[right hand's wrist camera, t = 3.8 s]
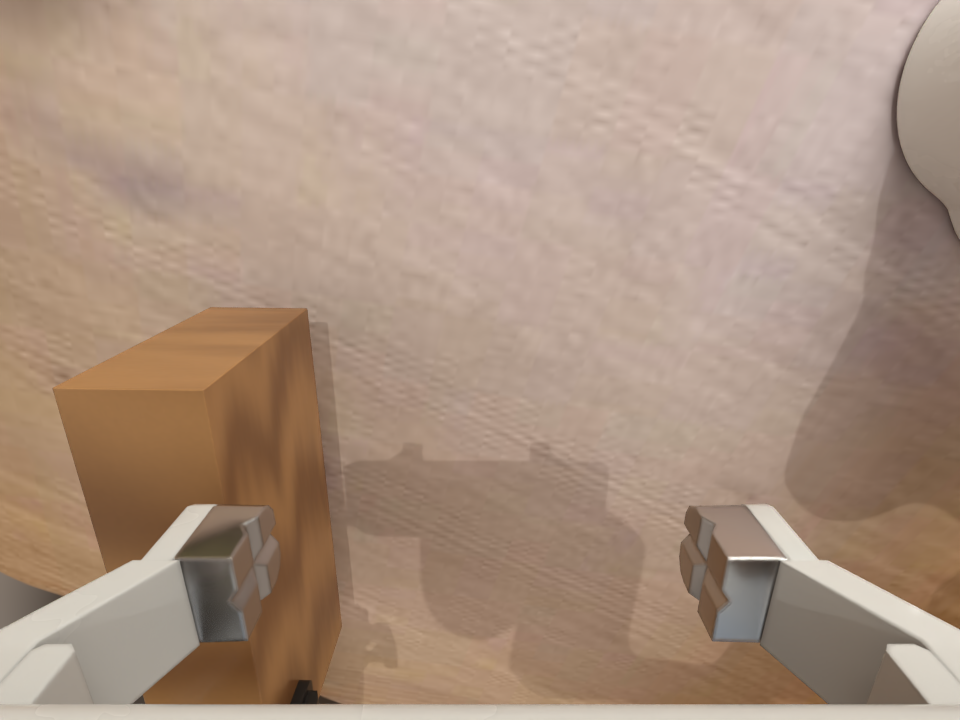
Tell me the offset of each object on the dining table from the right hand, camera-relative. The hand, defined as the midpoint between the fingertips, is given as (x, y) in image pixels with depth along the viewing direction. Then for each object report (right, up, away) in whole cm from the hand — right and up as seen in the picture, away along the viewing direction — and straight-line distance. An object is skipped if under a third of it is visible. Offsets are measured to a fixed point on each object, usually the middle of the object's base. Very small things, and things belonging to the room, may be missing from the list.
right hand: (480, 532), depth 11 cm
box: (-13, -5, +26) cm, 30 cm away
